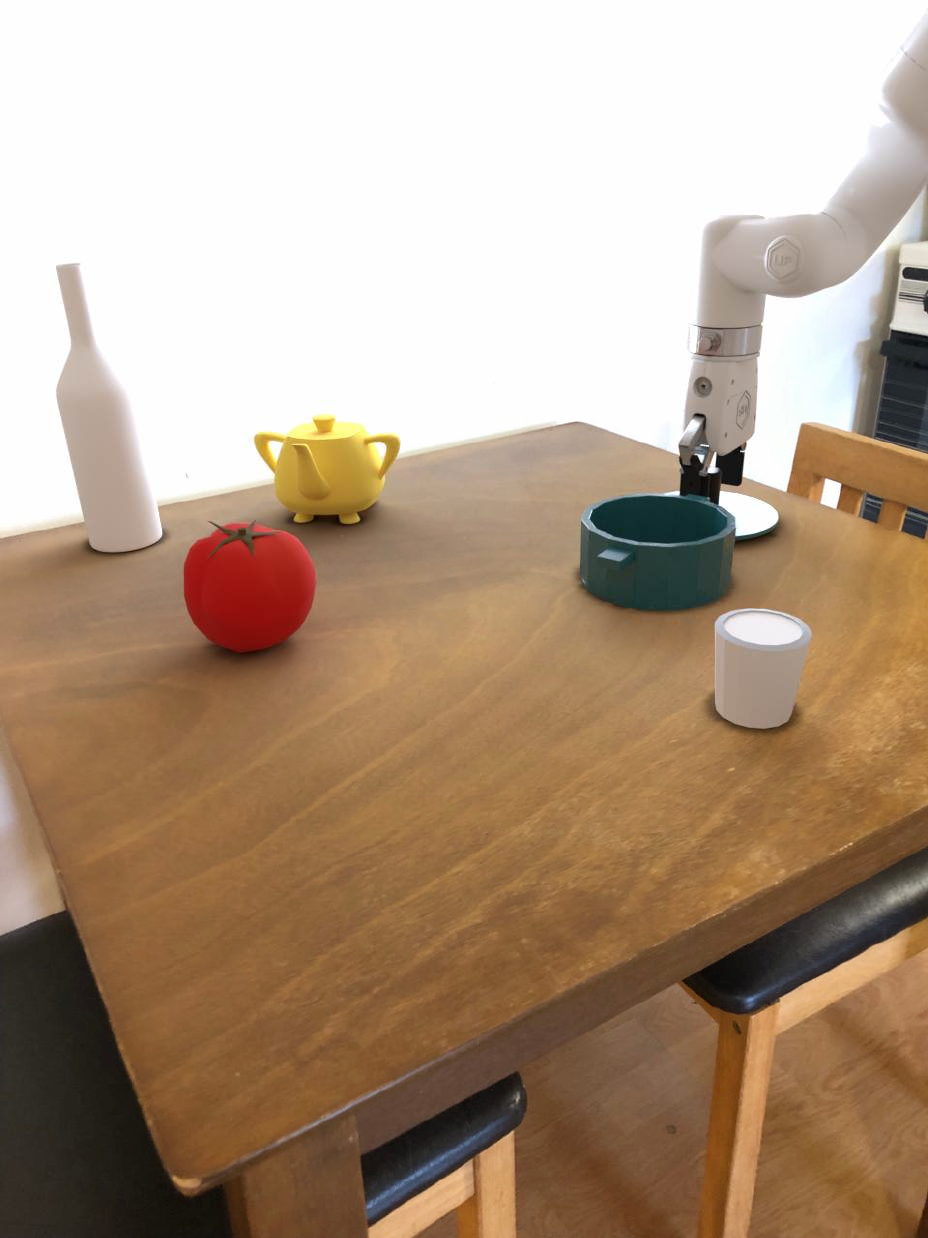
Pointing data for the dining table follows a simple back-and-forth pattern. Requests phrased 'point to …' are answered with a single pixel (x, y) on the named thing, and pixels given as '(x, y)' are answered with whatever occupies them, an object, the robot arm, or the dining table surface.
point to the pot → (657, 551)
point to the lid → (742, 509)
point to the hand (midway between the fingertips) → (710, 495)
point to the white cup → (758, 666)
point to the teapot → (328, 467)
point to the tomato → (248, 586)
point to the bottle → (103, 432)
